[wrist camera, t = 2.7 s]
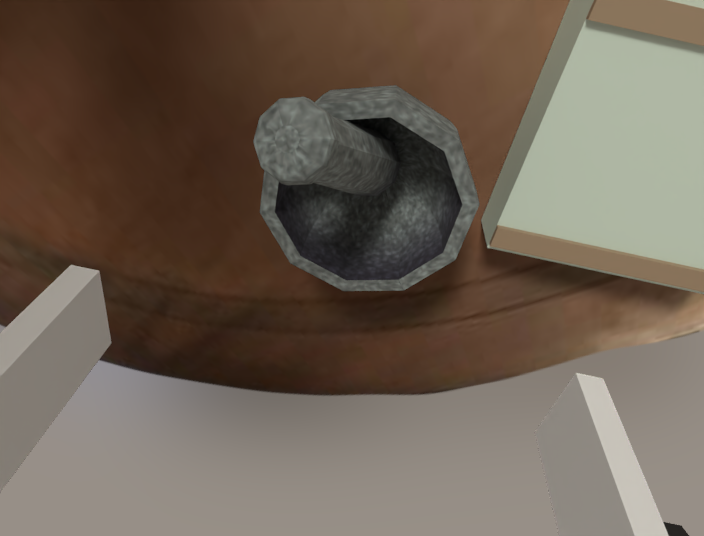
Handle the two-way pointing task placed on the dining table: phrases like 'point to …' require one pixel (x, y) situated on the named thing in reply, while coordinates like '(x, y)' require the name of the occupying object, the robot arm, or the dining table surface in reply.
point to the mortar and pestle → (364, 187)
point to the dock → (612, 147)
